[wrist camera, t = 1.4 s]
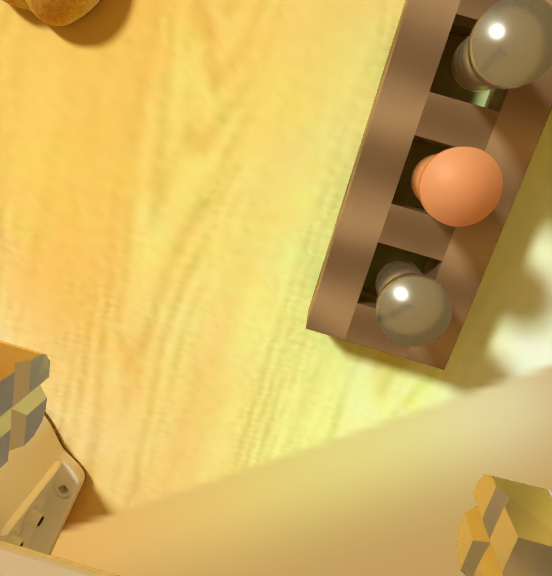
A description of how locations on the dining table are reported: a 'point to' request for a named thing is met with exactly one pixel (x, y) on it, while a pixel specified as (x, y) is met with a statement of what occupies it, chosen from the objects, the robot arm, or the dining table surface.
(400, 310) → the grey metal capped cylinder
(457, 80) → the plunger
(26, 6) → the bread roll
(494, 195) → the plunger mid
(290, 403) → the dining table surface
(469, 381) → the dining table surface
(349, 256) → the walnut block
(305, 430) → the dining table surface
